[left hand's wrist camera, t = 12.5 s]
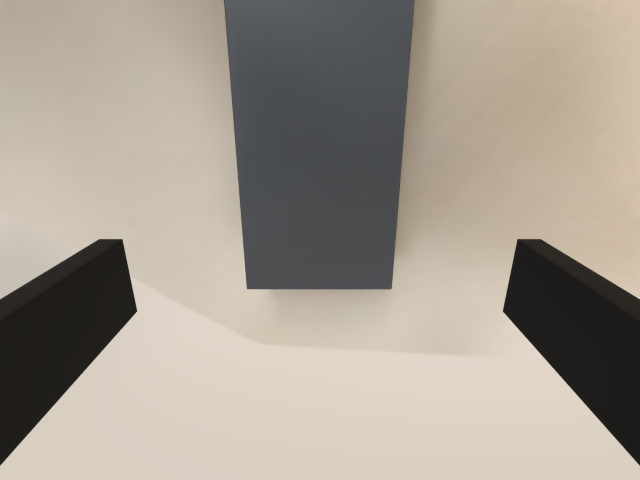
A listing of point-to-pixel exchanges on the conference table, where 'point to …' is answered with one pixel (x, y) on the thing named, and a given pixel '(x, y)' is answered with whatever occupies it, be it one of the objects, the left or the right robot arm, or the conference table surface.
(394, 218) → the long grey beam
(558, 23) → the conference table surface
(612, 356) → the left robot arm
